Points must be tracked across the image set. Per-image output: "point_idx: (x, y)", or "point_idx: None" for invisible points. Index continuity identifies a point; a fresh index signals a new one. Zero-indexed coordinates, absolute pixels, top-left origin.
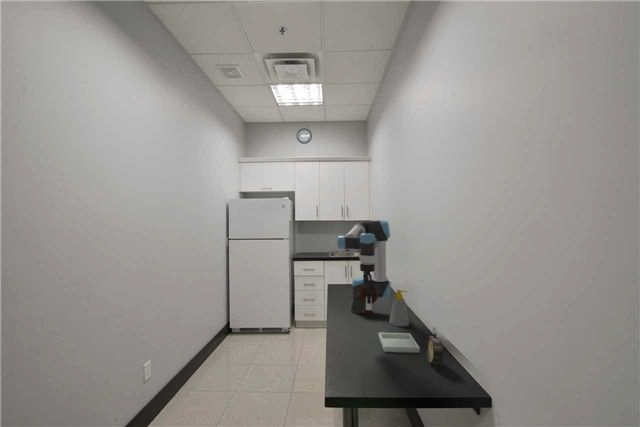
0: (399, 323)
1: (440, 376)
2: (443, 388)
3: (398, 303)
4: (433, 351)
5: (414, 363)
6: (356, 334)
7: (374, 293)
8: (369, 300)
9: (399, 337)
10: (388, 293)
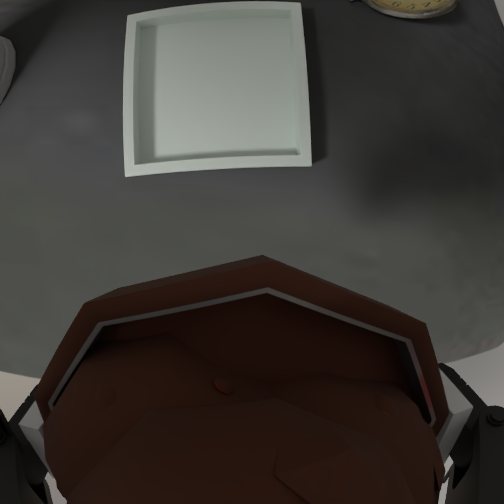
0: (5, 71)
1: (448, 28)
2: (493, 58)
3: None
4: (458, 4)
5: (390, 66)
6: None
7: (184, 363)
8: (465, 397)
9: (140, 68)
10: None
